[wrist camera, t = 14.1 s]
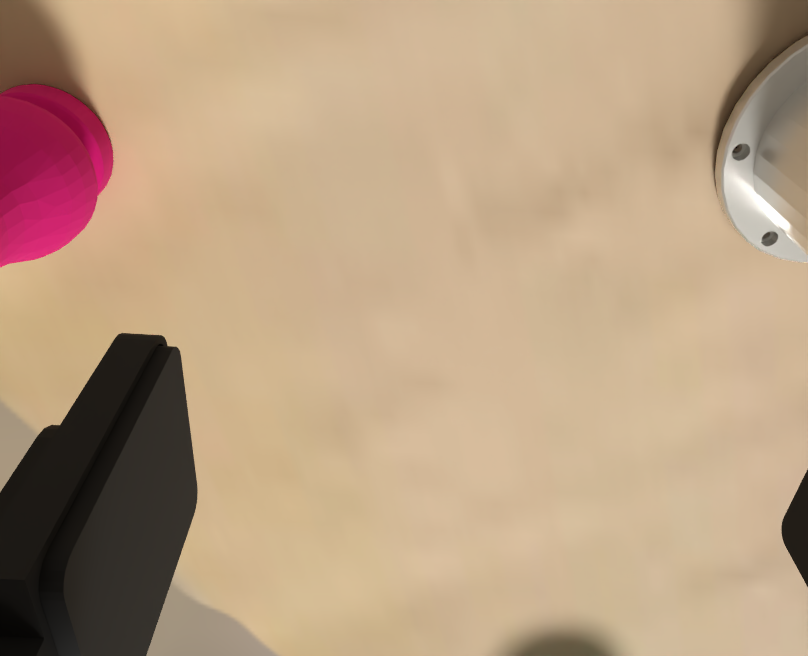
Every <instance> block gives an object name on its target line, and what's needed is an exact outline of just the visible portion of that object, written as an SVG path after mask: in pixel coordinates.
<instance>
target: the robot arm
mask: <svg viewBox="0 0 808 656" xmlns="http://www.w3.org/2000/svg"><path fill="white" fill-rule="evenodd" d="M737 145H739V146H738V147H737V149H735V150H734V148H735V147H736V146H737ZM715 180H716V189H717V195H718V198H719V201H720V204H721V207H722V209H723V212H724V214H725V215H726V217H727V218H728V220H729V221H730V223H731V224H732V226H733V227H734V229H735V230H736V231H737V232H738V233H739V234H740V235H741V236H742V237H743V238H744V239H745V240H746V241H747V242H748V243H750V244H751V245H752V246H754V247H755V248H756V249H758V250H759V251H761V252H763V253H766V254H768V255H771V256H773V257H776V258H778V259H781V260H787V261H793V262H798V263H808V35H807V36H806V37H804V38H802V39H800V40H799V41H797V42H795V43H794V44H792V45H791V46H790V47H789V48H787V49H786V50H785V51H784V52H782V53H781V54H780V55H779V56H777V57H776V58H775V59H773V60H772V61H771V62H770V63H769V64H768V65H767V66H766V67H765V68H764V69H763V70H762V72H761V73H760V74H759V75H758V76H757V77H756V78H755V79H754V80H753V81H752V82H751V83H750V85H749V86H748V88H747V89H746V91H745V92H744V93H743V95H742V96H741V98H740V99H739V101H738V102H737V103H736V105H735V107H734V109H733V111H732V113H731V115H730V117H729V119H728V121H727V123H726V125H725V127H724V130H723V133H722V137H721V140H720V143H719V147H718V150H717V157H716V167H715ZM196 504H197V480H196V472H195V465H194V457H193V449H192V441H191V433H190V425H189V417H188V409H187V401H186V394H185V386H184V378H183V370H182V362H181V355H180V351H179V349H178V348H177V347H170V346H167V342H166V340H165V338H164V337H163V336H162V335H145V334H128V333H121V334H119V335H118V336H117V337H116V338H115V339H114V341H113V342H112V344H111V346H110V347H109V349H108V350H107V352H106V354H105V355H104V357H103V358H102V360H101V361H100V363H99V365H98V366H97V368H96V369H95V371H94V372H93V374H92V376H91V377H90V379H89V380H88V382H87V384H86V385H85V387H84V388H83V390H82V391H81V393H80V395H79V396H78V398H77V399H76V401H75V403H74V404H73V406H72V407H71V409H70V410H69V412H68V414H67V415H66V417H65V418H64V420H63V421H62V423H61V425H50V426H48V427H46V428H44V429H43V431H42V432H41V433H40V434H39V435H38V436H37V438H36V439H35V441H34V442H33V444H32V445H31V447H30V448H29V450H28V451H27V453H26V455H25V456H24V458H23V459H22V460H21V462H20V463H19V465H18V467H17V468H16V469H15V471H14V472H13V474H12V476H11V477H10V479H9V480H8V482H7V483H6V485H5V486H4V488H3V489H2V491H1V492H0V656H146V654H147V651H148V648H149V646H150V643H151V640H152V637H153V633H154V631H155V628H156V625H157V622H158V619H159V616H160V613H161V610H162V607H163V604H164V601H165V598H166V595H167V592H168V590H169V587H170V584H171V581H172V578H173V575H174V572H175V569H176V566H177V563H178V560H179V557H180V554H181V551H182V548H183V545H184V542H185V540H186V537H187V534H188V531H189V528H190V525H191V522H192V519H193V516H194V513H195V509H196ZM782 537H783V541H784V544H785V546H786V548H787V550H788V552H789V553H790V555H791V557H792V559H793V561H794V563H795V564H796V566H797V568H798V570H799V572H800V574H801V575H802V577H803V579H804V581H805V583H806V585H807V586H808V470H807V472H806V474H805V476H804V478H803V480H802V482H801V484H800V486H799V488H798V490H797V492H796V494H795V496H794V498H793V500H792V502H791V504H790V506H789V508H788V510H787V512H786V514H785V516H784V519H783V522H782Z"/></svg>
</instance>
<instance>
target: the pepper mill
mask: <svg viewBox="0 0 808 656" xmlns="http://www.w3.org/2000/svg"><path fill="white" fill-rule="evenodd" d="M112 168H113V150H112V146H111V142H110V139H109V137H108V135H107V133H106V131H105V129H104V127H103V125H102V123H101V122H100V121H99V119H98V118H97V116H96V115H95V114H94V113H93V112H92V111H91V110H90V109H89V108H88V107H87V106H86V105H85V104H83V103H82V102H81V101H79V100H78V99H76V98H75V97H73V96H72V95H70V94H68V93H66V92H64V91H62V90H59V89H57V88H54V87H50V86H46V85H38V84H29V85H20V86H16V87H13V88H10V89H8V90H6V91H4V92H3V93H1V94H0V267H2V266H5V265H7V264H10V263H16V262H23V261H29V260H35V259H38V258H41V257H44V256H46V255H48V254H50V253H53V252H55V251H57V250H59V249H61V248H62V247H63V246H65V245H66V244H68V243H69V242H70V241H71V240H72V239H74V238H75V237H76V236H77V235H78V234H79V233H80V232H81V231H82V230H83V229H84V228H85V227H86V225H87V224H88V222H89V221H90V219H91V217H92V215H93V212H94V210H95V206H96V202H97V196H98V195H99V194H100V193H101V192H102V190H103V189H104V188H105V186H106V185H107V183H108V181H109V179H110V177H111V174H112Z"/></svg>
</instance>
